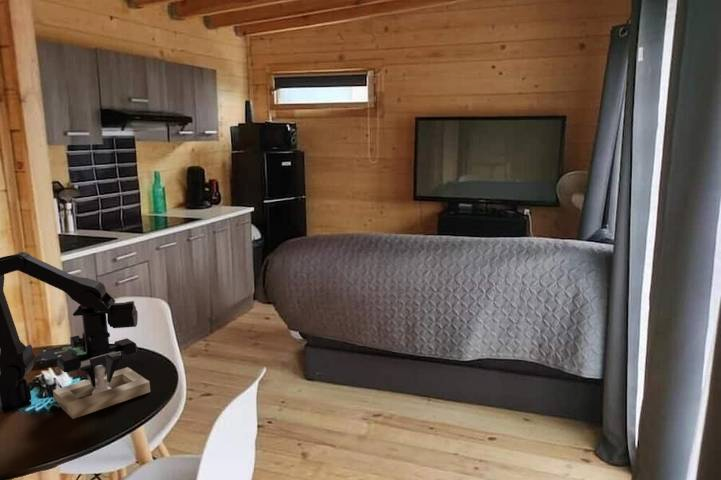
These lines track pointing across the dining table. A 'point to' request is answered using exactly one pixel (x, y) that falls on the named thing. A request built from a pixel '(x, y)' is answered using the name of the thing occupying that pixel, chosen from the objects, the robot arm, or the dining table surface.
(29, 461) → the dining table surface
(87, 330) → the robot arm
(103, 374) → the chess pawn
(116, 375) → the wooden rectangular frame
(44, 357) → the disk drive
